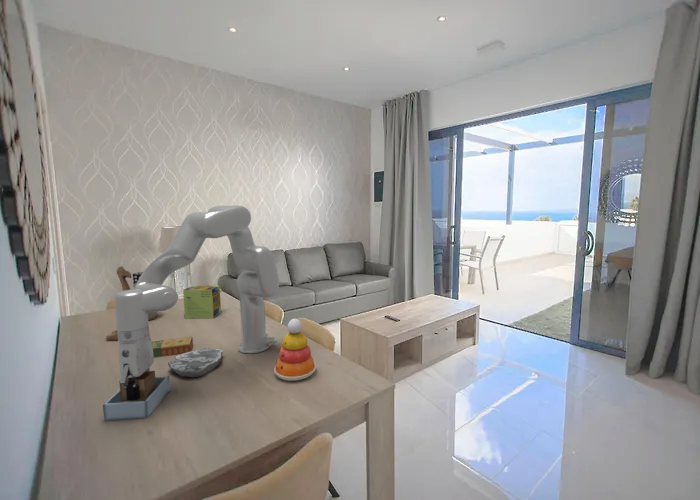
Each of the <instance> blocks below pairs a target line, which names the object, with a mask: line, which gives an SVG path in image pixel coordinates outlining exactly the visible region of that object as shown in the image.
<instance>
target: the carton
mask: <svg viewBox="0 0 700 500" xmlns="http://www.w3.org/2000/svg"><path fill="white" fill-rule="evenodd" d="M151 342H152V348H153V355H154V358H160V357H168V356H174V355H175V356H178V355H181V354H183V353H187V352H191V351H193V350H192V349H193V346H194V340H193V336H187V337H186V336H185V337H179V338H171V339H163V340H155V341H151Z"/></svg>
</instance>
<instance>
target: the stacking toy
mask: <svg viewBox="0 0 700 500" xmlns="http://www.w3.org/2000/svg"><path fill="white" fill-rule="evenodd" d="M302 328H303V327H302V322H301V321H300V320H299V319H297V318H292V319H290V320H289V322H288V324H287V331H288V333H287V334H286V335H285V336H284V337H283V339H282V342H281V347H280V350H279V352H278V359H277V360H276V364H275V366H274V368H273V372H274V374H275V376H277V378H279V379H280V380H281V379H282V380H283V381H290V382H292V381H293V382H294V381H300V380H304V379H307V378H309V377H311V376H312V375H313V374H314V373H315V371H316V369H317V365H316V363H315V362H314V359H313V356H312V352H311V351H312V350H311V348H310V345H308V343H309V342H308V339H307V337H306V336H305V334H304V333H302V332H301V331H302Z"/></svg>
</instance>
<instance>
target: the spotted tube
mask: <svg viewBox="0 0 700 500" xmlns="http://www.w3.org/2000/svg"><path fill="white" fill-rule="evenodd" d="M143 272H144V271H140V272H134V273H132V282H133V283H132V284H133V285H132V286H133V288H134V287H135V285H136V283H137V281H138V280H139V278H140V276H141V275H142V273H143Z"/></svg>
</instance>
